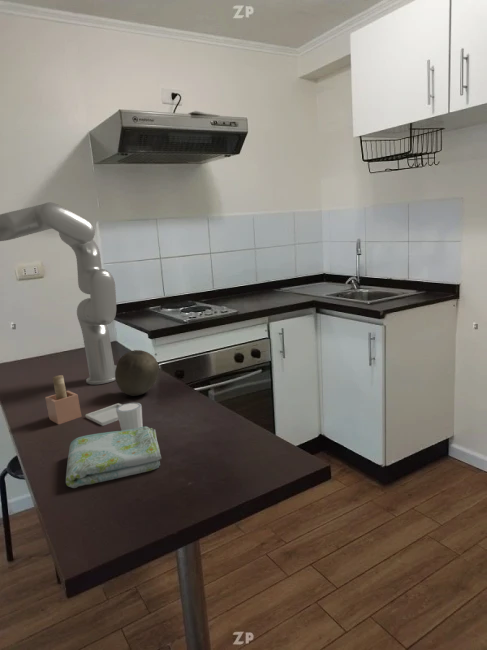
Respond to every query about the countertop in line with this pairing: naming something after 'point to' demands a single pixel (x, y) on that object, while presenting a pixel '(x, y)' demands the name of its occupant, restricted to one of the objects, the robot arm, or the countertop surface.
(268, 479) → the countertop surface
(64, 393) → the dowel
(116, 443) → the towel
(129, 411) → the shot glass
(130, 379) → the cantaloupe
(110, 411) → the tray
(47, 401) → the cup
